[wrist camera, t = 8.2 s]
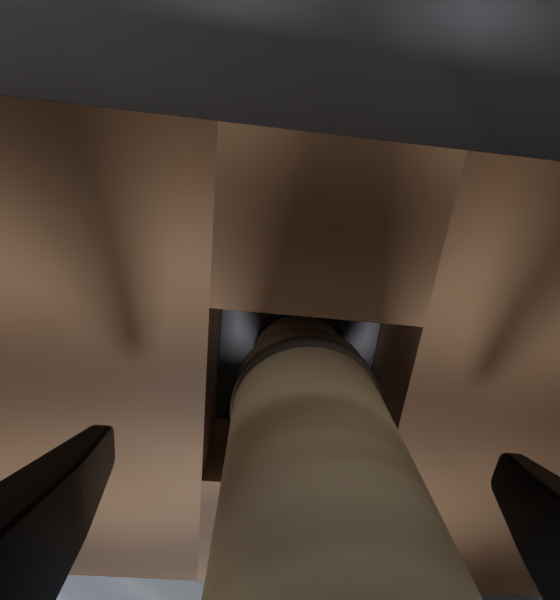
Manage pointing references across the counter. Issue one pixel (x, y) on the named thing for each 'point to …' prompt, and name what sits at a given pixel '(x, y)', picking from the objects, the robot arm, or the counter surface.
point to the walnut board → (268, 308)
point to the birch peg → (323, 484)
